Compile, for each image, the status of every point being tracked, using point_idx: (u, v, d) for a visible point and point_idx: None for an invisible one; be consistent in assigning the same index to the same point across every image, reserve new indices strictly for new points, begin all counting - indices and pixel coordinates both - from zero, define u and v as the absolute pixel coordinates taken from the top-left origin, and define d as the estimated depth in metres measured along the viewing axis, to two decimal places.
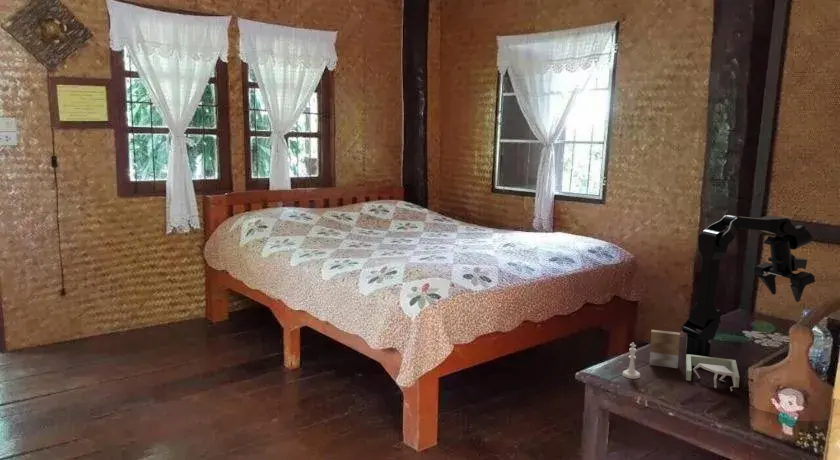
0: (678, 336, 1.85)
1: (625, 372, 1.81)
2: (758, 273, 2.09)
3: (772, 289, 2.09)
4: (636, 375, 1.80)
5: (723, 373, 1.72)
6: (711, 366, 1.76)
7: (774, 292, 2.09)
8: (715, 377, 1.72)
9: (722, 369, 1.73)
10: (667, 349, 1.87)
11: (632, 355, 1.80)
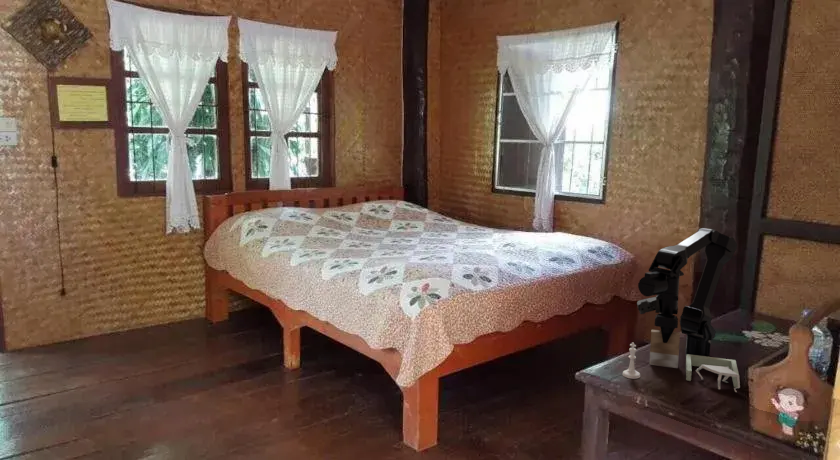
0: (678, 336, 1.85)
1: (625, 372, 1.81)
2: None
3: None
4: (636, 375, 1.80)
5: (727, 374, 1.71)
6: (714, 367, 1.75)
7: None
8: (719, 378, 1.71)
9: (726, 370, 1.73)
10: (667, 349, 1.87)
11: (632, 355, 1.80)
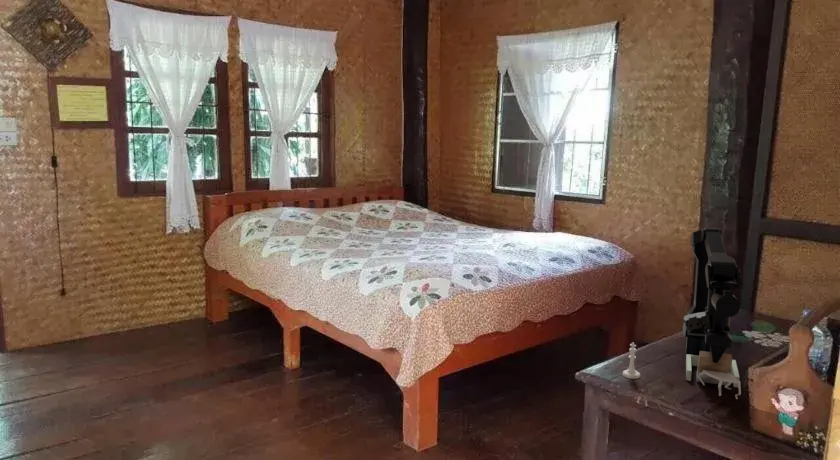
0: (730, 361, 1.69)
1: (625, 372, 1.81)
2: None
3: None
4: (636, 375, 1.80)
5: (728, 380, 1.67)
6: (716, 373, 1.71)
7: None
8: (720, 384, 1.67)
9: (727, 376, 1.68)
10: (717, 370, 1.72)
11: (632, 355, 1.80)
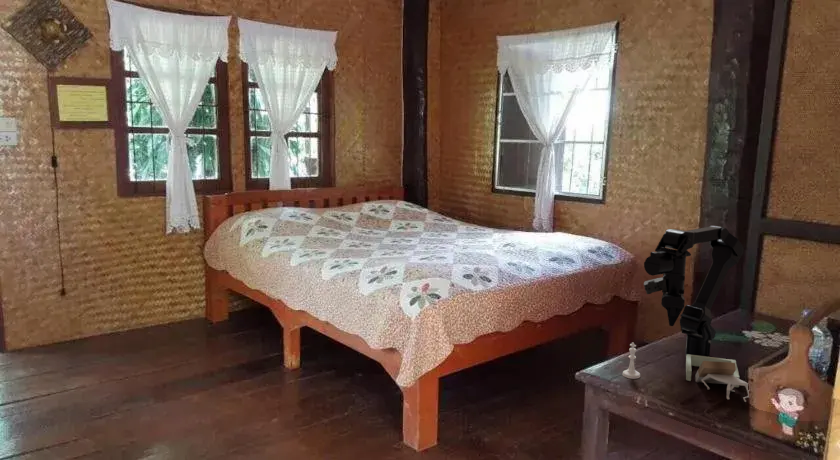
0: (734, 370, 1.67)
1: (625, 372, 1.81)
2: None
3: None
4: (636, 375, 1.80)
5: (736, 383, 1.65)
6: (721, 376, 1.69)
7: None
8: (728, 388, 1.65)
9: (734, 379, 1.67)
10: None
11: (632, 355, 1.80)
